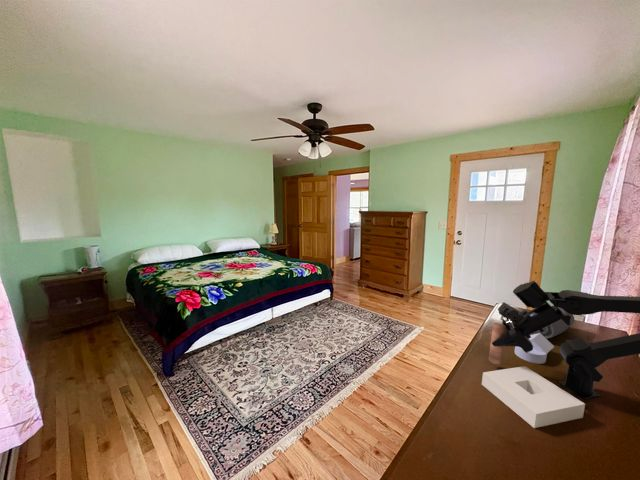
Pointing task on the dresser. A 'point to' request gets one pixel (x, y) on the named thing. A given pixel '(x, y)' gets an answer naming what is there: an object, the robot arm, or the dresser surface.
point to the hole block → (533, 396)
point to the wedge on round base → (535, 349)
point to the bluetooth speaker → (556, 327)
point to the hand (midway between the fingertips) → (492, 341)
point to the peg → (496, 351)
